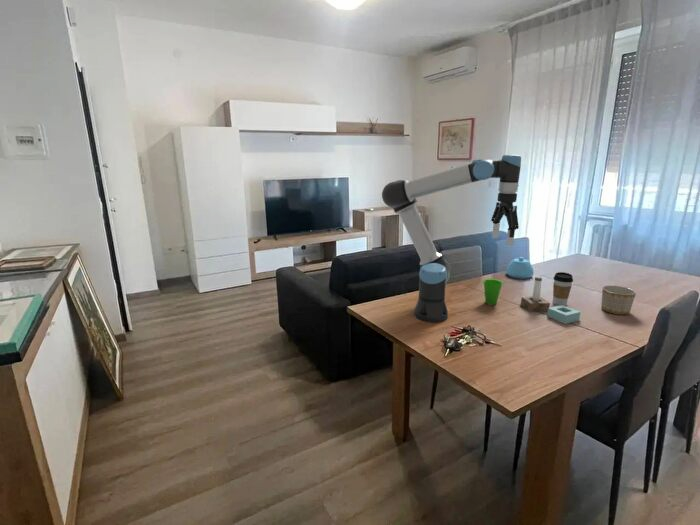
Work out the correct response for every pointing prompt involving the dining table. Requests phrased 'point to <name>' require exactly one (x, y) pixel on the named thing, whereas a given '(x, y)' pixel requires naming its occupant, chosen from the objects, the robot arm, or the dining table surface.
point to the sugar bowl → (520, 268)
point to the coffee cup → (561, 288)
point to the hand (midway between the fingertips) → (502, 241)
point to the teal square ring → (563, 314)
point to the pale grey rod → (537, 289)
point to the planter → (617, 299)
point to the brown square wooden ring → (535, 304)
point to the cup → (492, 290)
